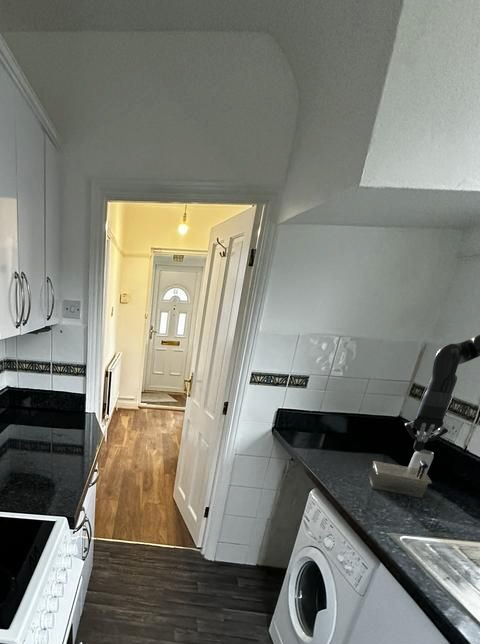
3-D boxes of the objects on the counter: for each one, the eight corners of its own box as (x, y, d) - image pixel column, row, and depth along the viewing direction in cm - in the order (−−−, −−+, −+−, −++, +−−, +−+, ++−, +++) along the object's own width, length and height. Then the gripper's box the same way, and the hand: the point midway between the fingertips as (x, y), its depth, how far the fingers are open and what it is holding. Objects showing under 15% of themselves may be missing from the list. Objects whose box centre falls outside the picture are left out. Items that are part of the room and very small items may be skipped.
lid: (422, 471, 161) (428, 458, 158) (431, 484, 149) (437, 469, 147) (372, 462, 167) (377, 449, 165) (376, 474, 156) (381, 460, 153)
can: (407, 474, 174) (418, 447, 169) (425, 479, 169) (437, 452, 164) (402, 477, 170) (413, 450, 165) (420, 483, 166) (432, 455, 160)
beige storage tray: (414, 485, 163) (420, 471, 161) (422, 498, 152) (428, 483, 149) (368, 476, 170) (372, 462, 167) (371, 488, 158) (376, 474, 156)
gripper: (413, 403, 143) (397, 450, 150) (461, 408, 138) (442, 457, 144) (410, 399, 149) (394, 444, 156) (455, 404, 144) (437, 451, 151)
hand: (417, 450), depth 150 cm, fingers closed
